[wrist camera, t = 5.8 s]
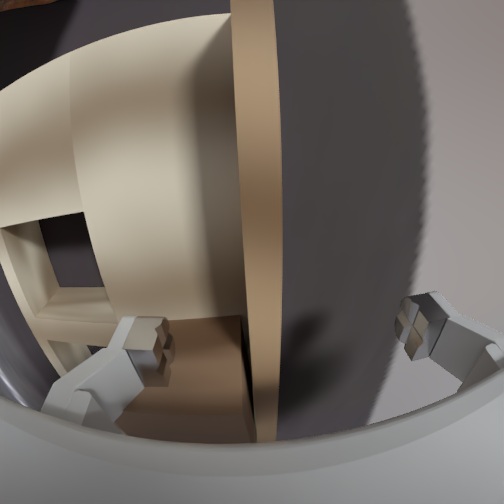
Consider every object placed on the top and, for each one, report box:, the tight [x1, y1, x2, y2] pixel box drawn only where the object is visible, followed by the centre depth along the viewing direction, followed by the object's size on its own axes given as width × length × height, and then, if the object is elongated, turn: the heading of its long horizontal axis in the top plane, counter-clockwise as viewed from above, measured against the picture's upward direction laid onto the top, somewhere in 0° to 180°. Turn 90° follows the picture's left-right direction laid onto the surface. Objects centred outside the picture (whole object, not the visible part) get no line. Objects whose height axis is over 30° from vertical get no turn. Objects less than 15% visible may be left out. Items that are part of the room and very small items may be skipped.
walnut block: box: [114, 315, 256, 444], centre depth 9 cm, size 4×4×4 cm
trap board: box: [0, 0, 282, 443], centre depth 11 cm, size 24×13×6 cm, turn 3°
